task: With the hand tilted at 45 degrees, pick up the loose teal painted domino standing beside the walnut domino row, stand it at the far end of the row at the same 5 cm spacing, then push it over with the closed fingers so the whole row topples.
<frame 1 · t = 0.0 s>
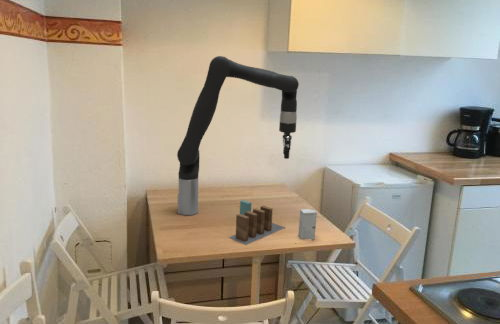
hand: (286, 156, 194), 29 cm above the table, tool pointing down, fingers open, 8 cm apart
skincare box: (306, 238, 177), on the table
domino 4: (250, 235, 176), resting on domino mat
domino 2: (265, 229, 184), resting on domino mat
domino 3: (257, 232, 180), resting on domino mat
domino mat: (257, 233, 180), on the table
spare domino: (245, 222, 192), on the table
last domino: (241, 239, 173), resting on domino mat
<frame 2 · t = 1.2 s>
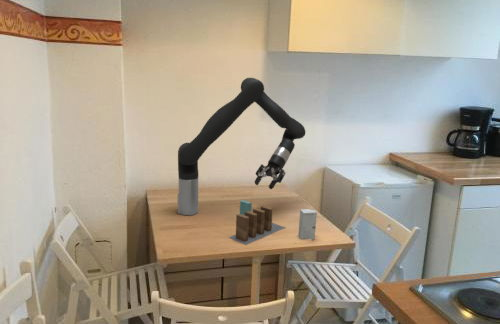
hand: (262, 186, 196), 15 cm above the table, tool tilted 45°, fingers open, 8 cm apart
nothing on the table moved.
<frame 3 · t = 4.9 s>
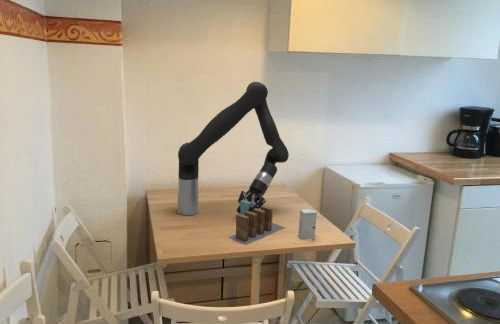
hand: (242, 214, 189), 5 cm above the table, tool tilted 45°, fingers closed on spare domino, 5 cm apart
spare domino: (245, 222, 192), on the table, touching gripper
everything else where it was.
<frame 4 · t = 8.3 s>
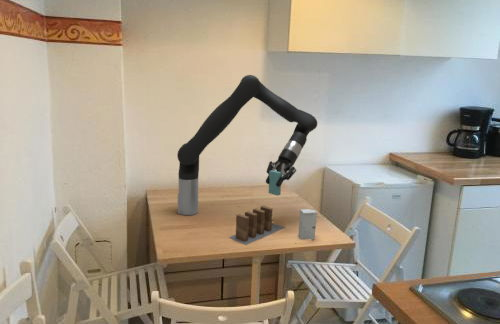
hand: (272, 184, 181), 20 cm above the table, tool tilted 45°, fingers closed on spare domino, 5 cm apart
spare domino: (274, 193, 184), point 16 cm above the table, touching gripper
everything else where it was.
when the fingers open (6 cm above the table, at t = 12.1 s): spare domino stays where it is, resting on domino mat.
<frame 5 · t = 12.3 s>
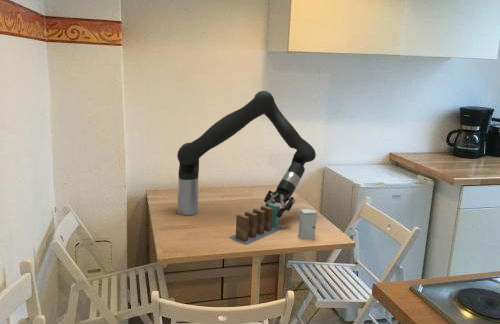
hand: (271, 214, 185), 6 cm above the table, tool tilted 45°, fingers open, 7 cm apart
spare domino: (272, 226, 187), resting on domino mat
everything else where it was.
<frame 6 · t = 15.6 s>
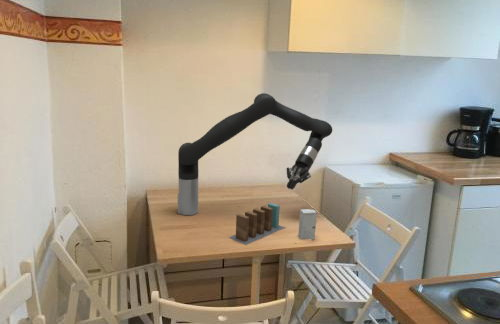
hand: (289, 188, 192), 16 cm above the table, tool tilted 45°, fingers closed
nothing on the table moved.
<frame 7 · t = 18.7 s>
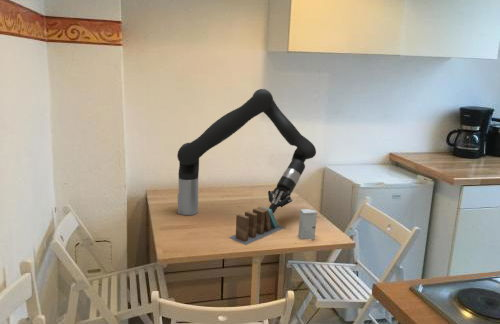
hand: (270, 212, 184), 7 cm above the table, tool tilted 45°, fingers closed
domino 2: (265, 228, 184), point 1 cm above the table, tilted 15°, touching domino mat
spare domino: (272, 225, 187), point 1 cm above the table, tilted 31°, touching domino mat
everything else where it was.
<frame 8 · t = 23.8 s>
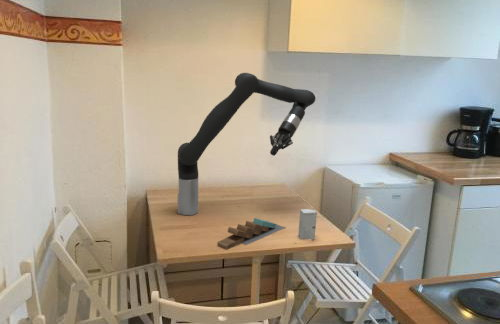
hand: (272, 154, 194), 30 cm above the table, tool tilted 45°, fingers closed
domino 4: (247, 234, 175), point 1 cm above the table, tilted 65°, touching domino 3, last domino
domino 2: (264, 227, 183), point 1 cm above the table, tilted 67°, touching domino 3, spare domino
domino 3: (256, 231, 179), point 1 cm above the table, tilted 67°, touching domino 2, domino 4, domino mat
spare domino: (271, 224, 187), point 1 cm above the table, tilted 67°, touching domino 2, domino mat
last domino: (239, 237, 172), point 2 cm above the table, tilted 93°, touching domino 4, domino mat
everything else where it was.
at the end: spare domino inside the target area (0.9 cm from its centre), point 1.4 cm above the table; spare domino tilted 67°; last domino tilted 93° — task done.
